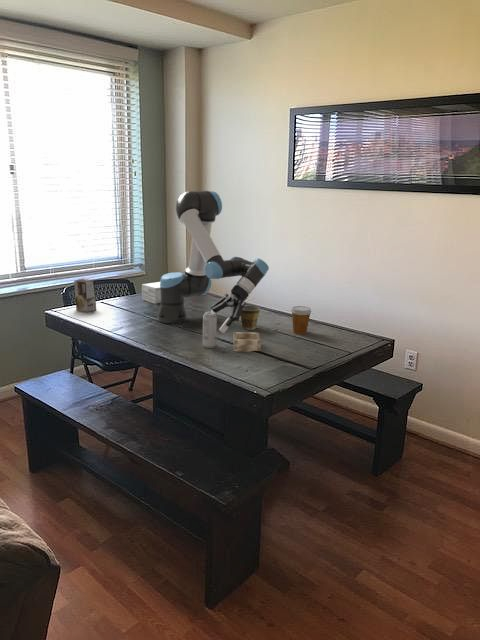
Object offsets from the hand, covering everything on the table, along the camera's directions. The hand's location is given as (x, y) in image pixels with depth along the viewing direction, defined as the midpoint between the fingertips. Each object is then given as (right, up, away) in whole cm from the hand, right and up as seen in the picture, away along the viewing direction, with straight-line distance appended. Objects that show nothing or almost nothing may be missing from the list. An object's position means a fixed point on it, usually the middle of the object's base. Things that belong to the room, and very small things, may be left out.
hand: (212, 327), depth 227 cm
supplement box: (-35, +15, +81) cm, 89 cm away
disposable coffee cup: (+40, -3, +25) cm, 48 cm away
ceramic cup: (+15, -1, +32) cm, 35 cm away
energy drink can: (-2, -8, +3) cm, 9 cm away
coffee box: (-70, +8, +55) cm, 90 cm away
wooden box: (+14, -9, +3) cm, 17 cm away
